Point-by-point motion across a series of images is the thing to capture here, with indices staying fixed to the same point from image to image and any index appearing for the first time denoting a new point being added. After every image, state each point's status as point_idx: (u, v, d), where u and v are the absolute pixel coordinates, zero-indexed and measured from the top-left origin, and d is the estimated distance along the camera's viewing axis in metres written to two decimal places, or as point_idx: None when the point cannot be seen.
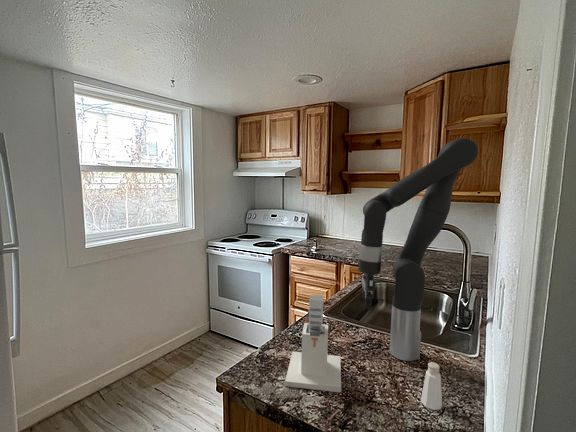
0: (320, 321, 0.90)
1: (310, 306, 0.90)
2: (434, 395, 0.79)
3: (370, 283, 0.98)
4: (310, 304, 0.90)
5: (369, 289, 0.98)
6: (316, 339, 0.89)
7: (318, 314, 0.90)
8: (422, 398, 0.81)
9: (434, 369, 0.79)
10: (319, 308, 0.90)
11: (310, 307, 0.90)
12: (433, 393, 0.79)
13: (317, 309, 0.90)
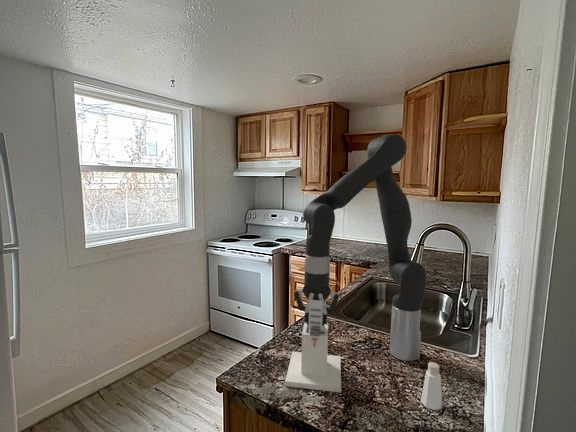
0: (320, 321, 0.90)
1: (310, 306, 0.90)
2: (434, 395, 0.79)
3: None
4: (310, 304, 0.90)
5: (335, 303, 0.91)
6: (316, 339, 0.89)
7: (318, 314, 0.90)
8: (422, 398, 0.81)
9: (434, 369, 0.79)
10: (319, 308, 0.90)
11: (310, 307, 0.90)
12: (433, 393, 0.79)
13: (317, 309, 0.90)
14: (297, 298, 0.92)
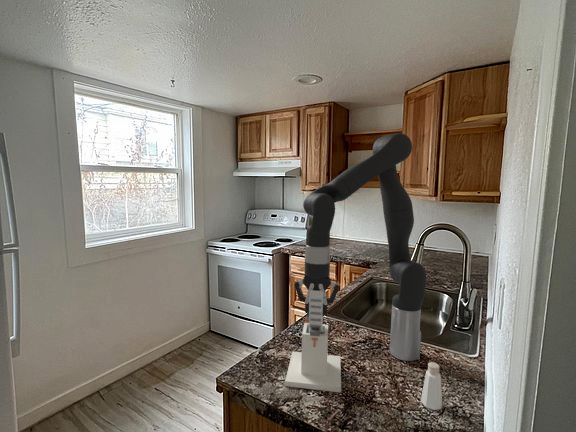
0: (320, 312, 0.90)
1: (310, 297, 0.90)
2: (434, 395, 0.79)
3: (338, 287, 0.90)
4: (310, 295, 0.90)
5: None
6: (316, 339, 0.89)
7: (318, 305, 0.90)
8: (422, 398, 0.81)
9: (434, 369, 0.79)
10: (319, 299, 0.90)
11: (310, 298, 0.90)
12: (433, 393, 0.79)
13: (317, 300, 0.90)
14: (297, 289, 0.91)
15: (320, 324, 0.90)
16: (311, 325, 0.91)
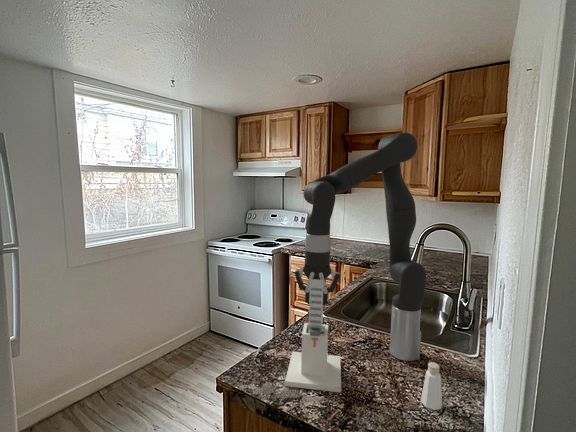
0: (321, 301, 0.90)
1: (310, 285, 0.90)
2: (434, 395, 0.79)
3: (338, 276, 0.90)
4: (311, 283, 0.90)
5: (336, 283, 0.90)
6: (316, 339, 0.89)
7: (319, 293, 0.90)
8: (422, 398, 0.81)
9: (434, 369, 0.79)
10: (320, 287, 0.89)
11: (311, 286, 0.90)
12: (433, 393, 0.79)
13: (318, 288, 0.89)
14: (297, 278, 0.91)
15: (320, 313, 0.90)
16: (311, 314, 0.90)
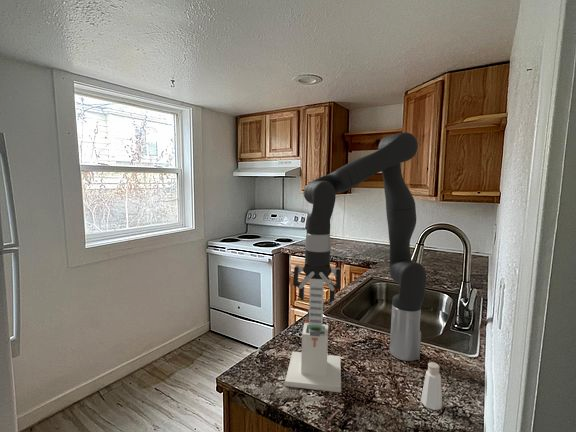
0: (321, 300, 0.90)
1: (310, 285, 0.90)
2: (434, 395, 0.79)
3: None
4: (311, 283, 0.90)
5: (340, 278, 0.90)
6: (316, 339, 0.89)
7: (319, 293, 0.90)
8: (422, 398, 0.81)
9: (434, 369, 0.79)
10: (320, 287, 0.89)
11: (311, 286, 0.90)
12: (433, 393, 0.79)
13: (318, 288, 0.89)
14: (295, 273, 0.91)
15: (320, 313, 0.90)
16: (311, 314, 0.90)
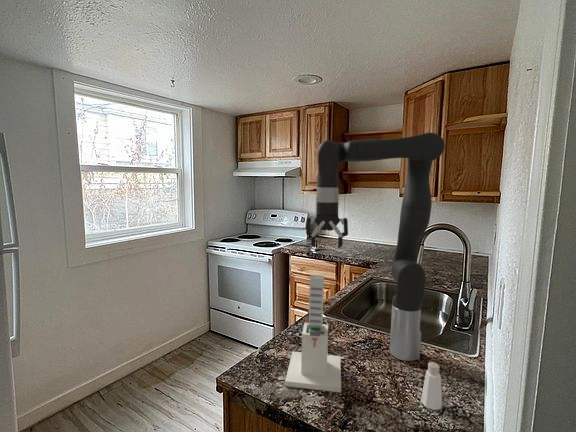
0: (321, 300, 0.90)
1: (310, 285, 0.90)
2: (434, 395, 0.79)
3: None
4: (311, 283, 0.90)
5: (347, 226, 1.03)
6: (316, 339, 0.89)
7: (319, 293, 0.90)
8: (422, 398, 0.81)
9: (434, 369, 0.79)
10: (320, 287, 0.89)
11: (311, 286, 0.90)
12: (433, 393, 0.79)
13: (318, 288, 0.89)
14: (308, 223, 1.04)
15: (320, 313, 0.90)
16: (311, 314, 0.90)
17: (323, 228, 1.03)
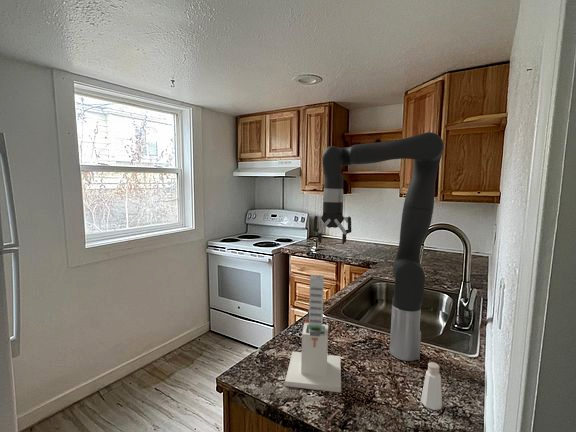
0: (321, 300, 0.90)
1: (310, 285, 0.90)
2: (434, 395, 0.79)
3: None
4: (311, 283, 0.90)
5: None
6: (316, 339, 0.89)
7: (319, 293, 0.90)
8: (422, 398, 0.81)
9: (434, 369, 0.79)
10: (320, 287, 0.89)
11: (311, 286, 0.90)
12: (433, 393, 0.79)
13: (318, 288, 0.89)
14: (315, 221, 1.15)
15: (320, 313, 0.90)
16: (311, 314, 0.90)
17: (329, 225, 1.14)
